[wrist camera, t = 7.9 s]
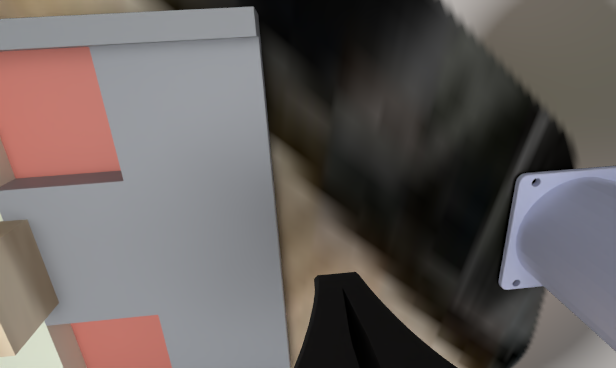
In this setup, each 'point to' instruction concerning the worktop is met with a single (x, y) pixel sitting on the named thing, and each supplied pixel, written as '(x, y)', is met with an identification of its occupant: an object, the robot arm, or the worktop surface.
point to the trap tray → (145, 188)
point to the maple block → (21, 287)
